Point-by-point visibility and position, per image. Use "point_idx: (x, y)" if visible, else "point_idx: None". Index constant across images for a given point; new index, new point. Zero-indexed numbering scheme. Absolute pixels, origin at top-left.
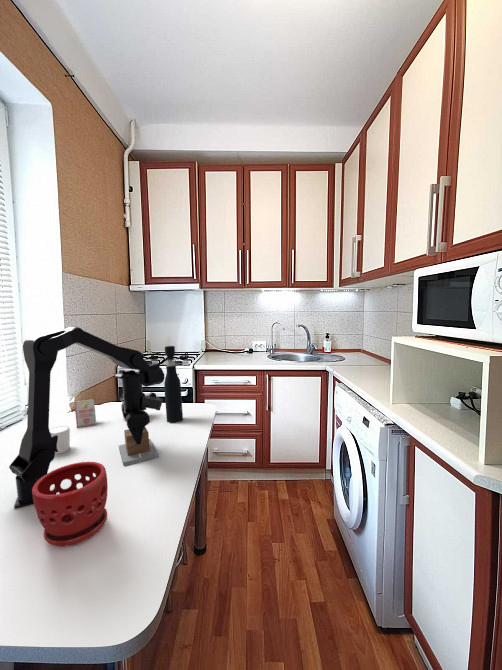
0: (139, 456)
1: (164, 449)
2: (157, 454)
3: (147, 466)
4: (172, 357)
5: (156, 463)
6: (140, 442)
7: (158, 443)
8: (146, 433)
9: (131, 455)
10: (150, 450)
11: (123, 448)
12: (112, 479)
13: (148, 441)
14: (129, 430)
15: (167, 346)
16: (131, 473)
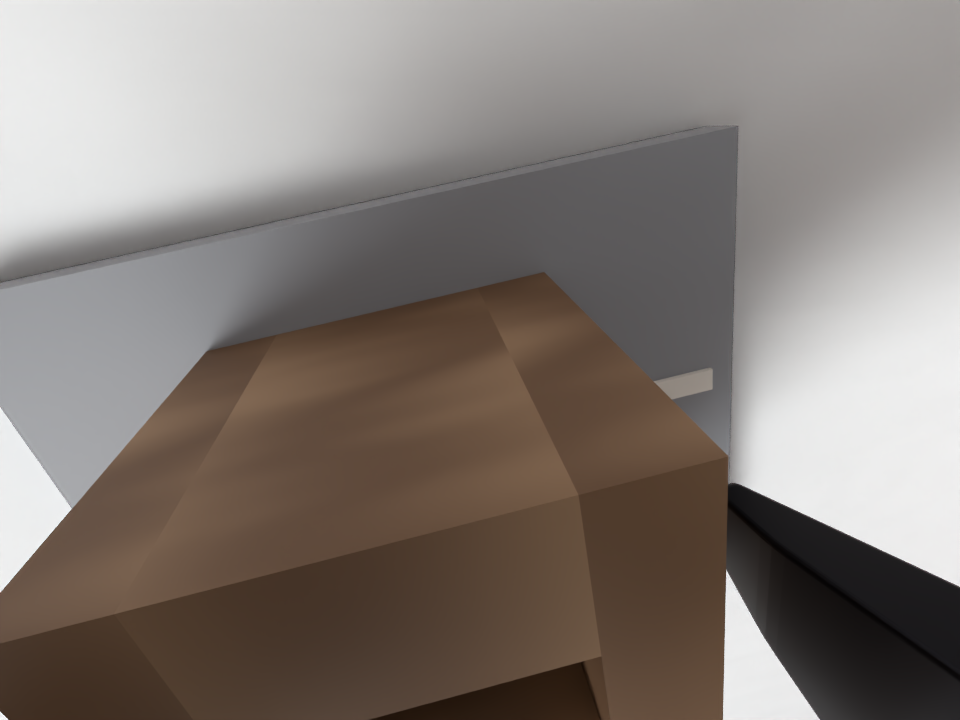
0: (680, 397)
1: (429, 2)
2: (737, 137)
3: (879, 267)
4: None
5: (876, 153)
6: (759, 497)
7: (88, 126)
8: (707, 489)
9: None
10: (532, 262)
11: None
12: (910, 538)
13: (602, 342)
14: None
15: None
16: (918, 413)
